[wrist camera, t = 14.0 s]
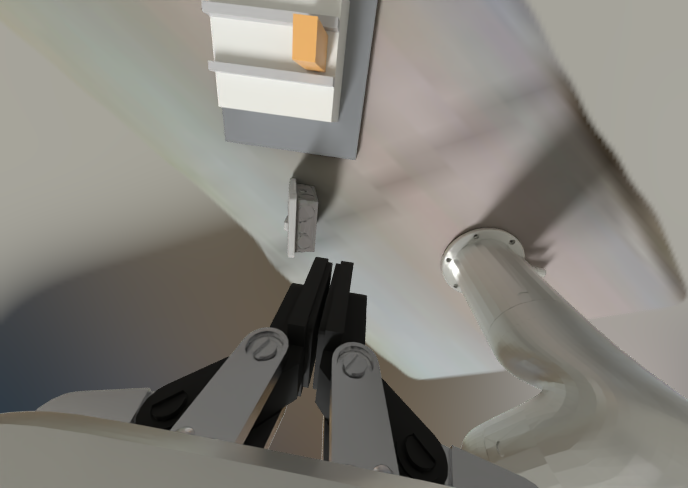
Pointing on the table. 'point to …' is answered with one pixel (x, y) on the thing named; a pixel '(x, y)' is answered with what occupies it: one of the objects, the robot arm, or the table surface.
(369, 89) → the table surface
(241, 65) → the block
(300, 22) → the handle
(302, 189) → the electrical switch
